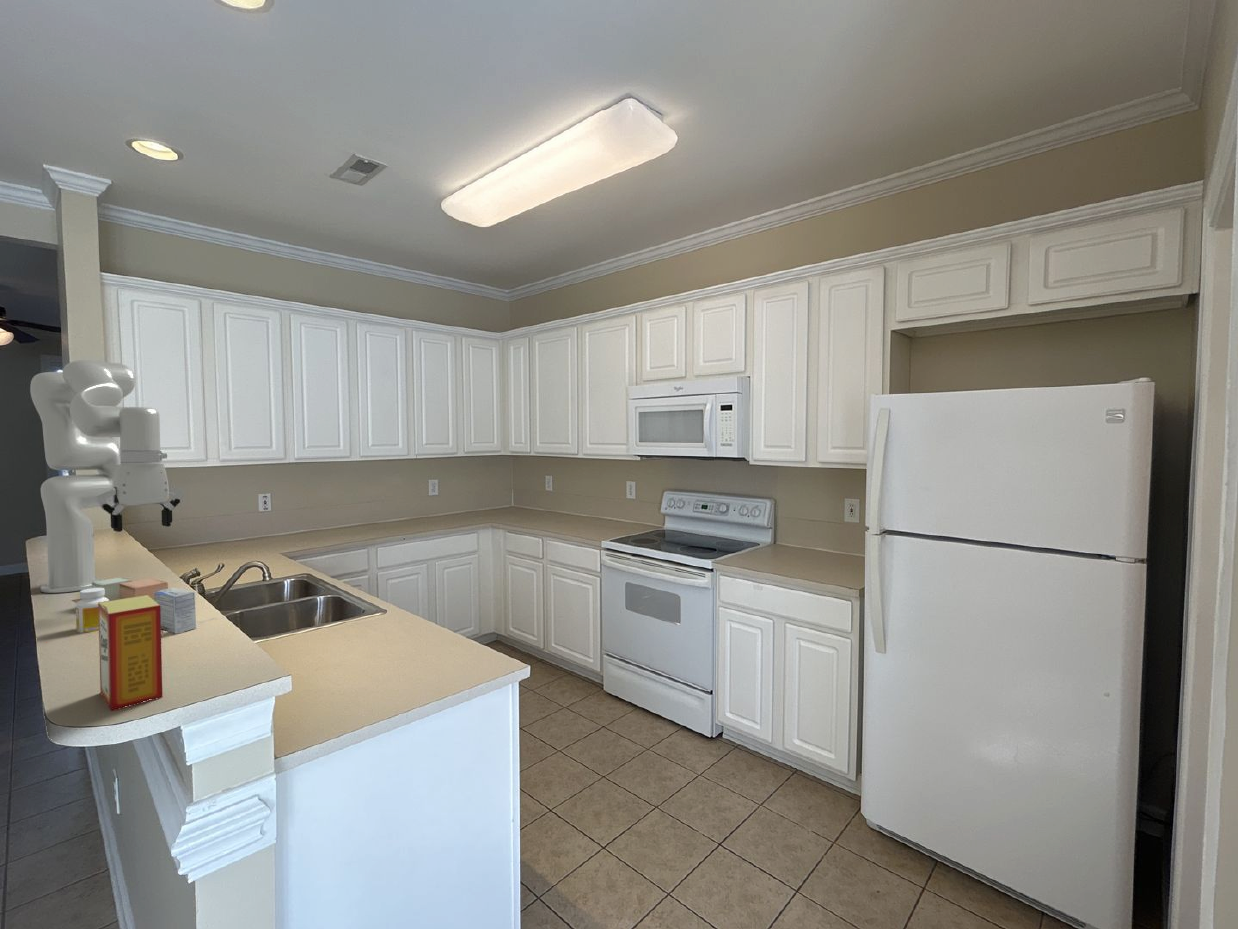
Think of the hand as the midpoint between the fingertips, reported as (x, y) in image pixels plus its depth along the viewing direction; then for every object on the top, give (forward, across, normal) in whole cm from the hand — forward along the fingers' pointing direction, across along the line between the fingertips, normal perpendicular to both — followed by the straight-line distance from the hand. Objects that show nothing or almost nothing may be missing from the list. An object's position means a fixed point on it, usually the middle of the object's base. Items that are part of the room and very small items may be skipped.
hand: (142, 528), depth 141 cm
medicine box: (+21, +1, +20) cm, 29 cm away
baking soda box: (+21, +20, +52) cm, 60 cm away
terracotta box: (+20, 0, 0) cm, 20 cm away
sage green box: (+19, +3, -9) cm, 22 cm away
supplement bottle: (+21, +12, +9) cm, 26 cm away
